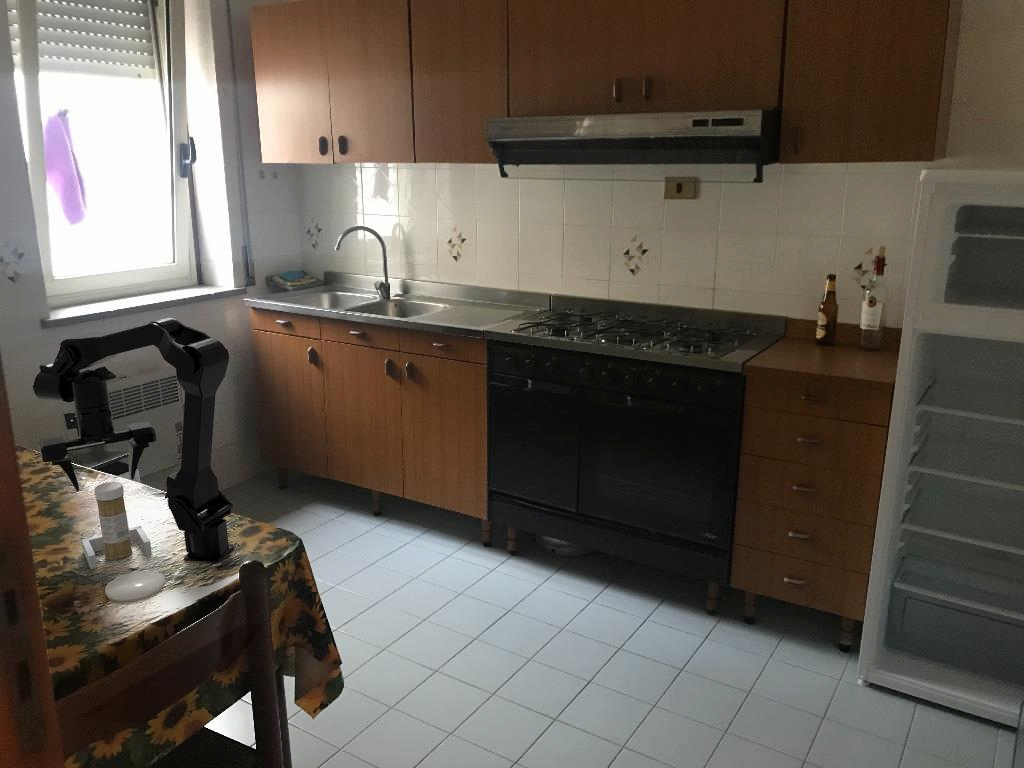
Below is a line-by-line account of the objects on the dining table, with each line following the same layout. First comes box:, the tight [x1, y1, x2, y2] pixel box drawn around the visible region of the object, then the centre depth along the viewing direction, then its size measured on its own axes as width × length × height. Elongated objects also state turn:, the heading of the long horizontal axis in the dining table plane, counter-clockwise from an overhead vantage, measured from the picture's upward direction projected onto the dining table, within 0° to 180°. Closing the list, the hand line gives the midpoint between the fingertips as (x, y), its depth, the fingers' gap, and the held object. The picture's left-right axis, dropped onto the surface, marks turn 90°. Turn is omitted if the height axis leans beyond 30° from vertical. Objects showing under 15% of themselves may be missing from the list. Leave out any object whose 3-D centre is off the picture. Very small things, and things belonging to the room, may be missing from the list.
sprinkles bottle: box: [93, 481, 133, 561], centre depth 147 cm, size 5×5×14 cm
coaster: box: [104, 570, 166, 603], centre depth 137 cm, size 9×9×1 cm
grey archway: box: [81, 525, 153, 570], centre depth 149 cm, size 8×10×2 cm
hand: (105, 484), depth 153 cm, fingers open, 9 cm apart
